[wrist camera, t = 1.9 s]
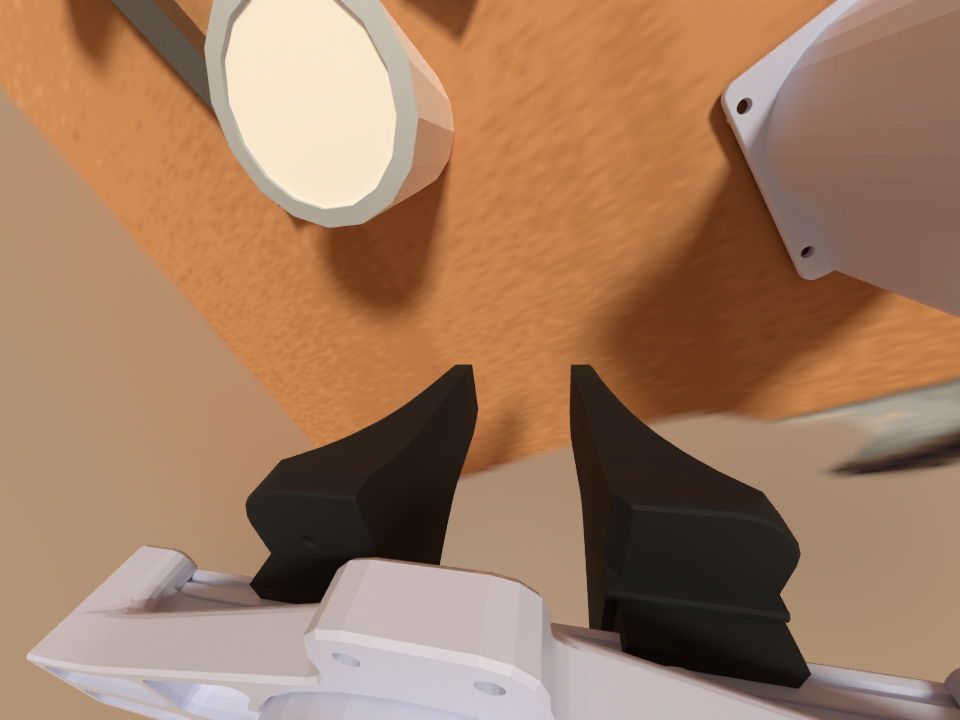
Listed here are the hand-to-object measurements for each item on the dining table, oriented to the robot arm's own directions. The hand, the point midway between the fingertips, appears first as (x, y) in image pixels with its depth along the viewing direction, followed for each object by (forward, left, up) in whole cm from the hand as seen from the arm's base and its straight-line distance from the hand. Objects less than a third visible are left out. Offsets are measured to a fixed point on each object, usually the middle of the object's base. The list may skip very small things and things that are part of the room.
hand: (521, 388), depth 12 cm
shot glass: (+11, 0, -9) cm, 14 cm away
